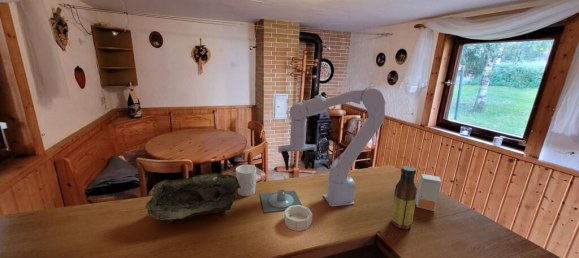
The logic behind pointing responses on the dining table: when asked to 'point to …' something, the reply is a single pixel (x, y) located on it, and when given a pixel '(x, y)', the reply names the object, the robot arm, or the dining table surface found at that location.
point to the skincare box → (428, 192)
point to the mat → (269, 208)
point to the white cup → (246, 179)
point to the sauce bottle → (404, 199)
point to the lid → (281, 199)
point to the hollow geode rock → (192, 196)
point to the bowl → (298, 217)
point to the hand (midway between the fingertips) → (296, 168)
